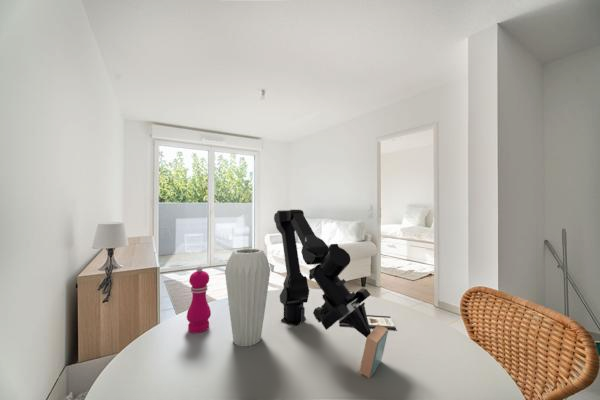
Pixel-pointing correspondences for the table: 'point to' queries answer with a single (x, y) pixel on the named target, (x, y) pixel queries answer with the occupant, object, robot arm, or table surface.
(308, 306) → the table surface
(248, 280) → the vase
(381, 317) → the chocolate bar
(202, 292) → the pepper mill
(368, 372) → the block
